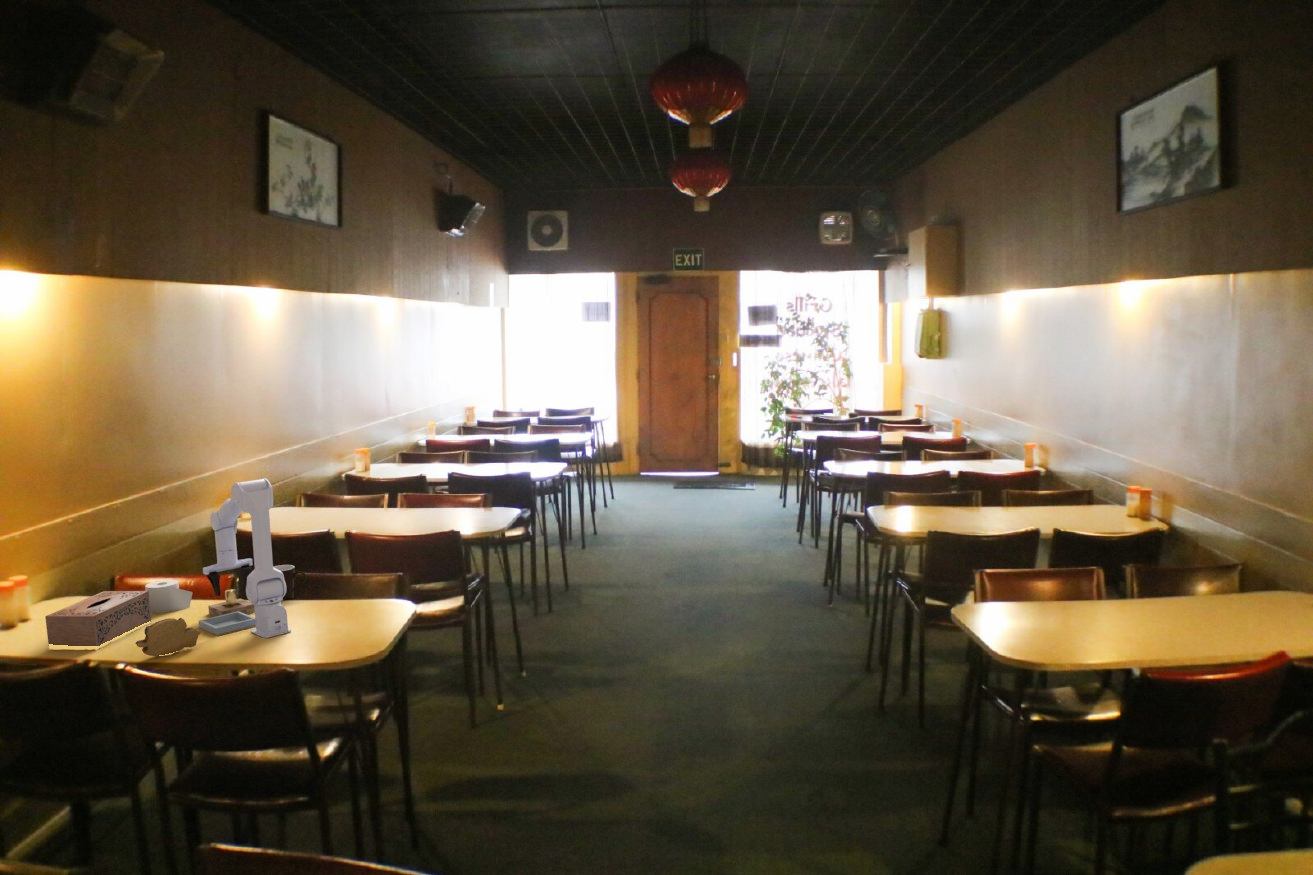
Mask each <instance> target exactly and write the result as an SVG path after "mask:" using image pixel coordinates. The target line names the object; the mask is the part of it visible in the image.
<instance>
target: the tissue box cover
mask: <svg viewBox="0 0 1313 875" xmlns="http://www.w3.org/2000/svg"><path fill="white" fill-rule="evenodd" d="M151 620H152V614H151V610H150V600H149V591H145V590H126V591H125V590H114V591H113V590H107V591H106V590H104V591H102V592H99V593H96V594H94V595H92V596H90V597H89V596H88V597H87V598H85V599H82V600H80V601H77V602H76V603H73V604H71V605H68V606H66V607H64V608H61V609H59V610H57V611H54V612H52V613H50V614H47V615H46V616H45V624H46V626H45V627H46V636H47V644H53V645H68V646H100V645H101V644H103V643H105V642H107V641H110V640H112V639H113V638H115V637H117V636H120V635H122V634H123V633H125V632H128V631H130V630H132V629H134V628H135V627H138V626H140V625H142V624H144V623H147V622H149V621H150V622H152V621H151Z"/></svg>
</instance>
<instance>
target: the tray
mask: <svg viewBox="0 0 1313 875" xmlns="http://www.w3.org/2000/svg"><path fill="white" fill-rule="evenodd" d="M252 627H256V622H255V616H252V615H249V614H244V613H242V612H239V611H237V612H233V613H229V614H225V615H220V616H216V617H215V616H213V617H208V618H204V619H200V620H198V628H199V629H201V630H203V631H205V632H208V633H210V634H213V635H214V636H219V637H221V636H225V635H230V634H229V633H231V634H233V632H235V633H237V632H241V631H246V630H250V629H249V628H252Z"/></svg>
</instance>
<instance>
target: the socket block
mask: <svg viewBox="0 0 1313 875" xmlns="http://www.w3.org/2000/svg"><path fill="white" fill-rule="evenodd" d="M236 602H237V606H233V607H229V608H226V601H224V602H219V603H215V604H210V605H207V606H208V614H209V615H211V616H213V617H216V616H220V615H225V614H229V613H233V612H237V611H239V612H242V613H244V614H247V615H249V614H253V613H254V614H255V610H254V604H252V603H251V602H250V601H249V600H248V601H247V600H245V599H243V598H236Z"/></svg>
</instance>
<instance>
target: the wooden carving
mask: <svg viewBox="0 0 1313 875" xmlns="http://www.w3.org/2000/svg"><path fill="white" fill-rule="evenodd" d="M200 634H201V632H200V630H199V629H196V628H193V627H188V624H187V623H186V621H185V619H184V618H182V617H180V618H178V619H176V618H170V617H169V618H164V619H160V620H158V621H155V622H154V623H152V624H150V625H146V627H145V628H144V635H145V637H144V639H139V640H137V641H136V642H135V645H136V647H138V648H142V649H141V652H142V653H143V654H145V655H147V656H152V657H158V656H159V655H165V654H169V653H173V652H176V651H179V652H180V651H182V650H183V649H184V648H193V647H195V646H197V641H198V638H199V636H200Z"/></svg>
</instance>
